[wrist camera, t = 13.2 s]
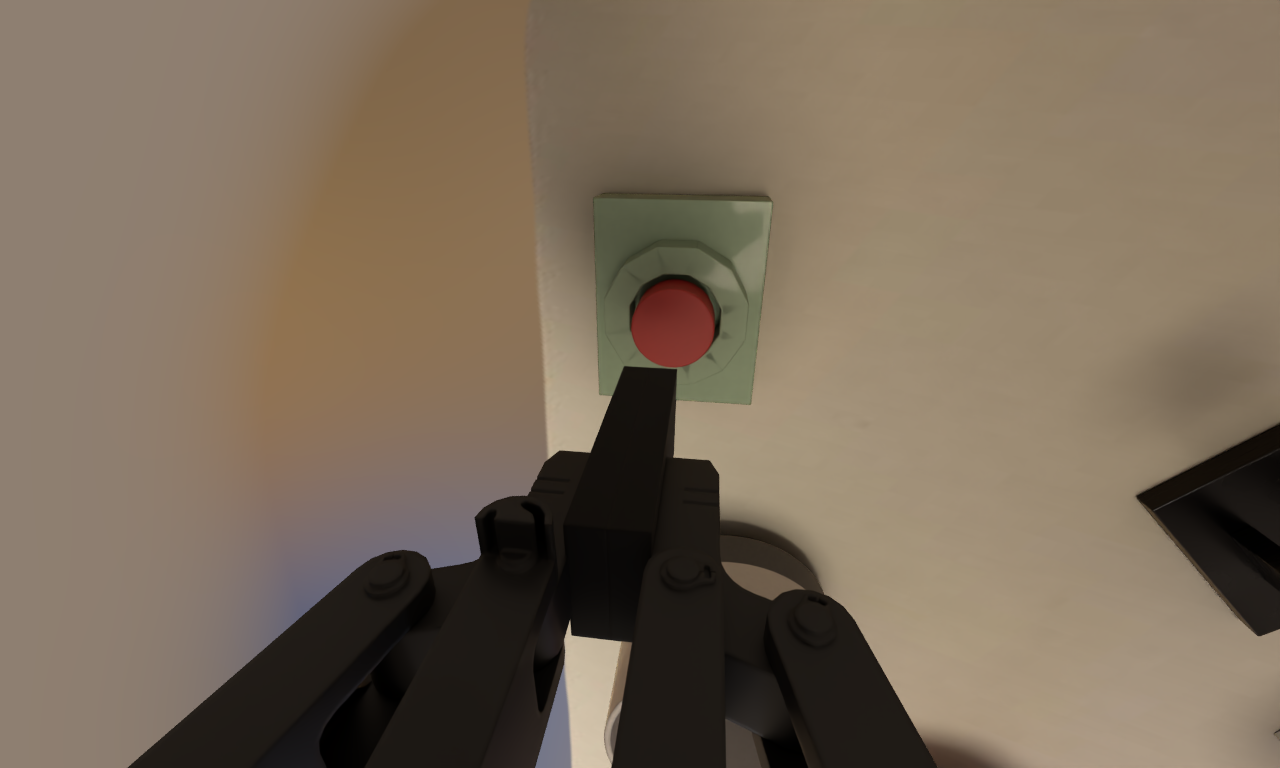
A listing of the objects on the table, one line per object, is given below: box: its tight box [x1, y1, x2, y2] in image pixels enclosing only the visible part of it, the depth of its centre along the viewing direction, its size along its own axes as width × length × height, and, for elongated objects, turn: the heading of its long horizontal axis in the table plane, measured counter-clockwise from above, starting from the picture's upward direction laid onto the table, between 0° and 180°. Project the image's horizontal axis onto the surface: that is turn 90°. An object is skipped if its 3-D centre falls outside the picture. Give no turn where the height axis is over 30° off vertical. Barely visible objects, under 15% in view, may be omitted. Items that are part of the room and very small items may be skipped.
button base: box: [593, 193, 773, 405], centre depth 25 cm, size 10×8×4 cm
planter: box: [604, 535, 824, 768], centre depth 31 cm, size 13×13×10 cm
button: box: [631, 279, 715, 367], centre depth 23 cm, size 4×4×2 cm
